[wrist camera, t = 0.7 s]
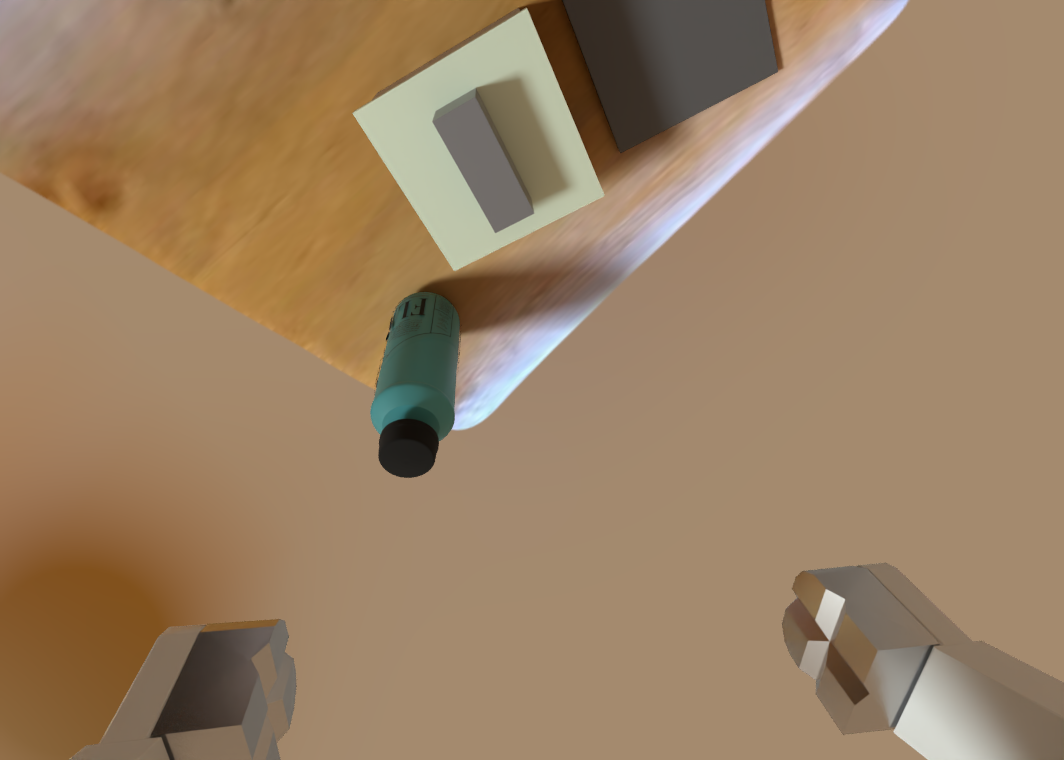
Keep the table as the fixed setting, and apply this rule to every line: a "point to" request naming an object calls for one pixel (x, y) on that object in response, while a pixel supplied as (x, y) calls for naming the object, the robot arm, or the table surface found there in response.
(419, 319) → the beverage bottle
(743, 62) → the rubber mat
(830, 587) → the robot arm
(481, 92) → the lid
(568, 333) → the table surface
